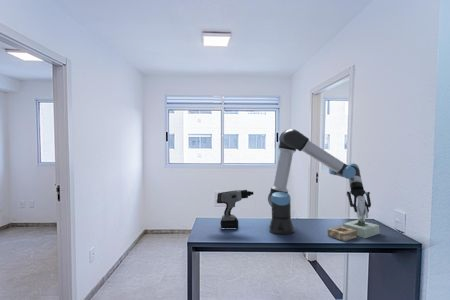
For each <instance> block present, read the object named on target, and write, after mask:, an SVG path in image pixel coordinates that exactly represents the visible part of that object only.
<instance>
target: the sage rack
mask: <svg viewBox="0 0 450 300" xmlns="http://www.w3.org/2000/svg"><path fill="white" fill-rule="evenodd" d="M342 227H346V228H349V229H353V230H357V237H359V238H363V239H367V238H370V237H373V236H376V235H380V225H379V224H375V223H371V222H367V221H365V226H364V227H362V226H358V219H356V220H352V221H347V222H344V223H342Z"/></svg>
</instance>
